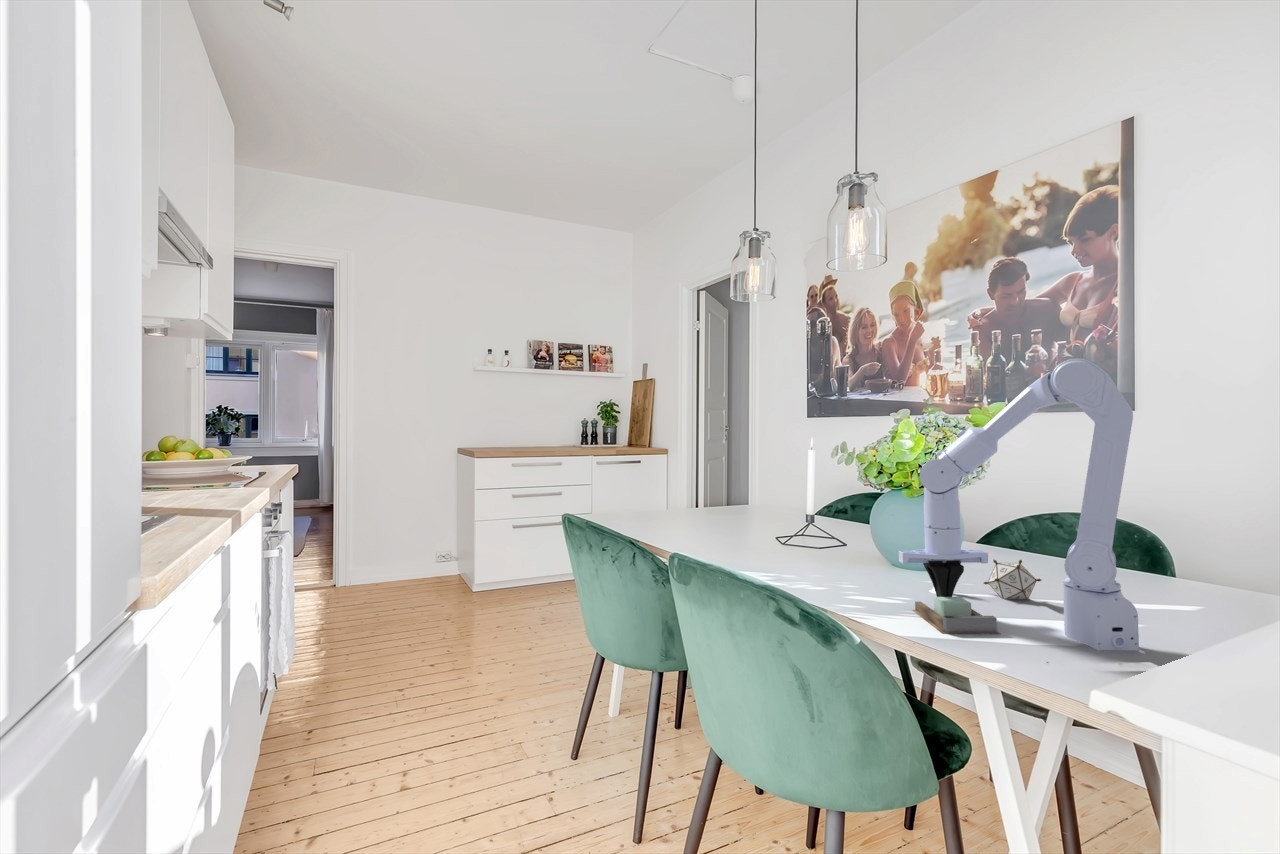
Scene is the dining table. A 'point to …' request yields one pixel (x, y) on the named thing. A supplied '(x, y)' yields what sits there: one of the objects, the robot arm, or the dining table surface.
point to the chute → (957, 621)
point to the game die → (1011, 581)
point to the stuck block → (952, 606)
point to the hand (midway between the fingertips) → (944, 603)
